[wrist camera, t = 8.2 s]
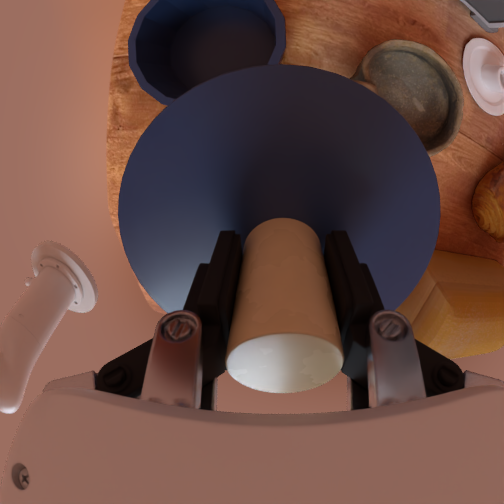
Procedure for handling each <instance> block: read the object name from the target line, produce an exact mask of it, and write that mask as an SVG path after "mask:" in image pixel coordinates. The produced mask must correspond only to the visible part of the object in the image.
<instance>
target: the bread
mask: <svg viewBox="0 0 504 504" xmlns="http://www.w3.org/2000/svg"><path fill="white" fill-rule="evenodd" d="M395 311H397V312H399V313H401V314H403V315H404V316H405V317H406V318H407V319H408V320H409V322H410V324H411V326H412V330H413V334H414V338H415V339H416V340H418V341H420V342H421V343H423V344H425V345H426V346H428V347H430V348H431V349H433V350H435V351H436V352H438V353H440V354H441V355H443V356H445V357H446V358H448V359H453V358H460V357H466V356H472V355H478V354H484V353H489V352H493V351H496V350H498V349H500V348H501V347H502V346H503V345H504V267H503V266H502V265H501V264H499V263H498V262H497V261H495V260H491V259H486V258H481V257H475V256H469V255H464V254H458V253H452V252H446V251H440V250H434V252H433V255H432V257H431V260H430V262H429V265H428V267H427V269H426V271H425V273H424V274H423V276H422V278H421V280H420V281H419V283H418V284H417V286H416V287H415V288H414V290H413V291H412V292H411V294H410V295H409V296H408V297H407V298H406V300H405V301H404V302H403V303H402V304H401V305H400V306H399V307H398V308H397V309H396V310H395Z"/></svg>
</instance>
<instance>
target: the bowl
mask: <svg viewBox="0 0 504 504" xmlns="http://www.w3.org/2000/svg"><path fill="white" fill-rule="evenodd" d="M350 80H353V81H355V82H357V83H359V84H362V85H363V86H365V87H367V88H368V89H370V90H371V91H373V92H374V93H376V94H377V95H379V96H380V97H382V98H383V99H385V100H386V101H387V102H388V103H389V104H390V105H391V106H392V107H394V108H395V109H396V110H397V111H398V112H399V113H400V114H401V115H402V116H403V117H404V118H405V119H406V121H407V122H408V123H409V124H410V126H411V127H412V128H413V130H414V131H415V132H416V134H417V135H418V136H419V138H420V140H421V142H422V144H423V145H424V147H425V149H426V151H427V153H428V155H429V157H431V156H433V155H436V154H437V153H439V152H441V151H442V150H443V149H445V148H446V147H448V146H449V145H450V144H451V143H452V142H453V141H454V139H455V137H456V136H457V133H458V131H459V129H460V125H461V121H462V117H463V106H464V98H463V92H462V88H461V85H460V82H459V80H458V78H457V77H456V75H455V73H454V72H453V70H452V69H451V68H450V66H449V65H448V64H447V62H446V61H445V60H444V59H443V58H442V57H441V56H440V55H438V54H437V53H436V52H435V51H434V50H432V49H431V48H429V47H428V46H426V45H424V44H421V43H418V42H414V41H409V40H401V39H392V40H388V41H385V42H383V43H381V44H379V45H377V46H375V47H373V48H372V49H371V50H370V51H368V53H367V54H366V56H365V57H364V58H363V59H362V61H361V63H360V64H359V66H358V68H357V70H356V72H355V74H354V75H353V76H352V77H351V78H350Z"/></svg>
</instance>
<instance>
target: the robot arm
mask: <svg viewBox="0 0 504 504" xmlns="http://www.w3.org/2000/svg"><path fill="white" fill-rule="evenodd" d="M324 260H325V264H326V269H327V273H328V277H329V282H330V286H331V291H332V295H333V300H334V305H335V309H336V314H337V319H338V325H339V330H340V335H341V341H342V346H343V352H344V363H343V366H342V368H341V371H342V372H343V373H344V374H345V375H347V411H341V412H328V413H313V414H251V413H233V412H221V411H217V377H218V376H219V375H221V374H222V373H224V372H225V370H227V368H226V366H225V356H226V350H227V344H228V338H229V332H230V326H231V320H232V314H233V308H234V302H235V296H236V290H237V284H238V278H239V273H240V267H241V261H242V244H241V235H240V234H236V233H235V230H223V231H220V233H219V236H218V239H217V242H216V245H215V248H214V251H213V254H212V257H211V260H210V263H200V264H199V266H198V268H197V271H196V274H195V277H194V279H193V282H192V285H191V288H190V290H189V293H188V296H187V299H186V302H185V305H184V307H183V310H177V311H173V312H170V313H168V314H166V315H165V316H163V317H162V318H161V320H160V321H159V322H158V324H157V326H156V329H155V333H154V337H153V338H152V339H150V340H149V341H147V342H145V343H143V344H142V345H140V346H138V347H136V348H134V349H132V350H130V351H129V352H127V353H125V354H123V355H121V356H120V357H118V358H116V359H114V360H112V361H110V362H108V363H107V364H106V365H104V366H103V367H102V368H101V370H100V371H99V373H95V372H94V371H91V372H87V373H82V374H78V375H74V376H70V377H65V378H61V379H57V380H53V381H51V382H49V383H48V384H47V385H46V386H45V388H44V390H43V393H42V394H40V395H38V396H37V397H36V398H35V399H34V400H33V402H32V403H31V404H30V405H29V407H28V409H27V410H26V412H25V414H24V416H23V418H22V420H21V422H20V424H19V426H18V429H17V431H16V434H15V436H14V439H13V442H12V445H11V447H10V450H9V454H8V457H7V461H6V465H5V469H4V473H3V477H2V482H1V487H0V504H504V382H503V381H501V380H499V379H495V378H492V377H488V376H484V375H480V374H477V373H474V372H470V371H467V370H466V371H465V372H464V373H462V371H461V369H460V368H459V366H458V365H457V364H456V363H454V362H453V361H451V360H450V359H448V358H446V357H445V356H443V355H441V354H440V353H438V352H436V351H435V350H433V349H431V348H430V347H428V346H426V345H425V344H423V343H421V342H420V341H418V340H416V339H415V338H414V334H413V330H412V326H411V324H410V322H409V320H408V319H407V318H406V317H405V316H404V315H403V314H401V313H399V312H397V311H394V310H388V309H386V310H385V308H384V306H383V303H382V300H381V298H380V295H379V293H378V290H377V287H376V285H375V282H374V280H373V277H372V275H371V272H370V270H369V268H368V266H367V264H366V263H359V261H358V258H357V256H356V253H355V251H354V248H353V246H352V243H351V241H350V239H349V236H348V234H347V232H346V231H345V230H332V231H331V234H326V238H325V248H324ZM25 284H26V285H27V286H29V287H28V288H27V289H26V290H25V292H24V293H23V294H22V295H21V297H20V298H19V299H18V301H17V302H16V304H15V305H14V306H13V307H12V309H11V310H10V311H9V313H8V314H7V316H6V317H5V318H4V320H3V322H2V323H1V326H0V411H1V412H3V413H8V414H9V413H14V412H15V411H17V410H18V408H19V407H20V404H21V402H22V399H23V396H24V392H25V389H26V385H27V382H28V379H29V376H30V374H31V371H32V369H33V367H34V365H35V363H36V361H37V359H38V357H39V355H40V353H41V352H42V350H43V348H44V347H45V345H46V343H47V341H48V340H49V338H50V336H51V335H52V333H53V332H54V330H55V328H56V327H57V325H58V323H59V322H60V320H61V319H62V317H63V316H64V314H65V313H66V311H67V309H68V308H69V306H77V305H79V304H80V303H81V301H82V299H83V296H84V295H83V289H82V286H81V284H80V282H79V280H78V278H77V277H76V276H75V274H74V273H73V272H72V271H71V270H70V269H69V268H68V267H67V266H66V265H65V264H63V263H62V262H61V261H59V260H57V259H54V258H50V257H46V258H44V259H42V260H41V261H40V263H39V264H38V275H37V276H36V277H34V278H29V277H28V278H26V279H25Z"/></svg>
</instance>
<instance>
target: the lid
mask: <svg viewBox="0 0 504 504" xmlns="http://www.w3.org/2000/svg"><path fill="white" fill-rule="evenodd" d="M118 219H119V227H120V235H121V239H122V243H123V246H124V250H125V253H126V256H127V258H128V260H129V263H130V265H131V268H132V269H133V271H134V273H135V275H136V276H137V278H138V280H139V282H140V283H141V285H142V286H143V287H144V289H145V290H146V291H147V293H148V294H149V295H150V296H151V298H152V299H153V300H154V301H155V302H156V303H157V304H158V305H159V306H160V307H161V308H162V309H163V310H164V311H165V312H167V313H170V312H173V311H177V310H183V307H184V305H185V302H186V299H187V296H188V293H189V290H190V288H191V285H192V282H193V279H194V277H195V274H196V271H197V268H198V266H199V264H200V263H210V260H211V257H212V254H213V251H214V248H215V245H216V242H217V239H218V236H219V233H220V231H223V230H235V233H236V234H240V235H241V244H242V261H241V267H240V273H239V278H238V284H237V290H236V296H235V302H234V308H233V314H232V320H231V326H230V332H229V338H228V344H227V350H226V356H225V366H226V368H227V371H228V372H229V374H230V375H231V376H232V377H233V378H234V379H235V380H237V381H238V382H240V383H241V384H243V385H245V386H248V387H250V388H253V389H256V390H260V391H265V392H272V393H292V392H299V391H305V390H309V389H312V388H315V387H318V386H320V385H322V384H324V383H326V382H328V381H330V380H331V379H332V378H334V377H335V376H336V375H337V374H338V372H339V371H340V370H341V368H342V366H343V363H344V352H343V346H342V341H341V335H340V330H339V325H338V319H337V314H336V309H335V305H334V300H333V295H332V291H331V286H330V282H329V277H328V273H327V269H326V264H325V260H324V248H325V238H326V234H331V231H332V230H345V231H346V232H347V234H348V236H349V239H350V241H351V243H352V246H353V248H354V251H355V253H356V256H357V258H358V261H359V263H366V264H367V266H368V268H369V270H370V272H371V275H372V277H373V280H374V282H375V285H376V287H377V290H378V293H379V295H380V298H381V300H382V303H383V306H384V308H385V310H386V309H388V310H394V311H395V310H396V309H397V308H398V307H399V306H400V305H401V304H402V303H403V302H404V301H405V300H406V298H407V297H408V296H409V295H410V294H411V292H412V291H413V290H414V288H415V287H416V286H417V284H418V283H419V281H420V280H421V278H422V276H423V274H424V273H425V271H426V269H427V267H428V265H429V262H430V260H431V257H432V255H433V252H434V249H435V245H436V241H437V237H438V233H439V225H440V194H439V188H438V183H437V178H436V174H435V171H434V168H433V165H432V163H431V160H430V157H429V155H428V153H427V151H426V149H425V147H424V145H423V144H422V142H421V140H420V138H419V136H418V135H417V134H416V132H415V131H414V130H413V128H412V127H411V126H410V124H409V123H408V122H407V121H406V119H405V118H404V117H403V116H402V115H401V114H400V113H399V112H398V111H397V110H396V109H395V108H394V107H392V106H391V105H390V104H389V103H388V102H387V101H386V100H385V99H383V98H382V97H380V96H379V95H377V94H376V93H374V92H373V91H371V90H370V89H368V88H367V87H365V86H363V85H362V84H359V83H357V82H355V81H353V80H350V79H348V78H346V77H344V76H341V75H339V74H336V73H333V72H329V71H325V70H321V69H317V68H313V67H307V66H297V65H283V64H276V65H263V66H253V67H247V68H243V69H239V70H235V71H231V72H228V73H224V74H221V75H219V76H216V77H214V78H212V79H210V80H207V81H205V82H203V83H201V84H199V85H197V86H195V87H193V88H192V89H190V90H189V91H187V92H186V93H184V94H183V95H181V96H180V97H178V98H177V99H175V100H174V101H173V102H172V103H170V104H169V105H168V106H167V107H166V108H165V109H164V110H163V111H162V112H161V113H160V114H159V115H158V116H156V117H155V119H154V120H153V121H152V122H151V124H150V125H149V126H148V127H147V129H146V130H145V131H144V133H143V134H142V135H141V137H140V139H139V140H138V142H137V144H136V146H135V148H134V149H133V151H132V153H131V155H130V157H129V160H128V163H127V165H126V168H125V171H124V174H123V177H122V182H121V187H120V193H119V205H118Z"/></svg>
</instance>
